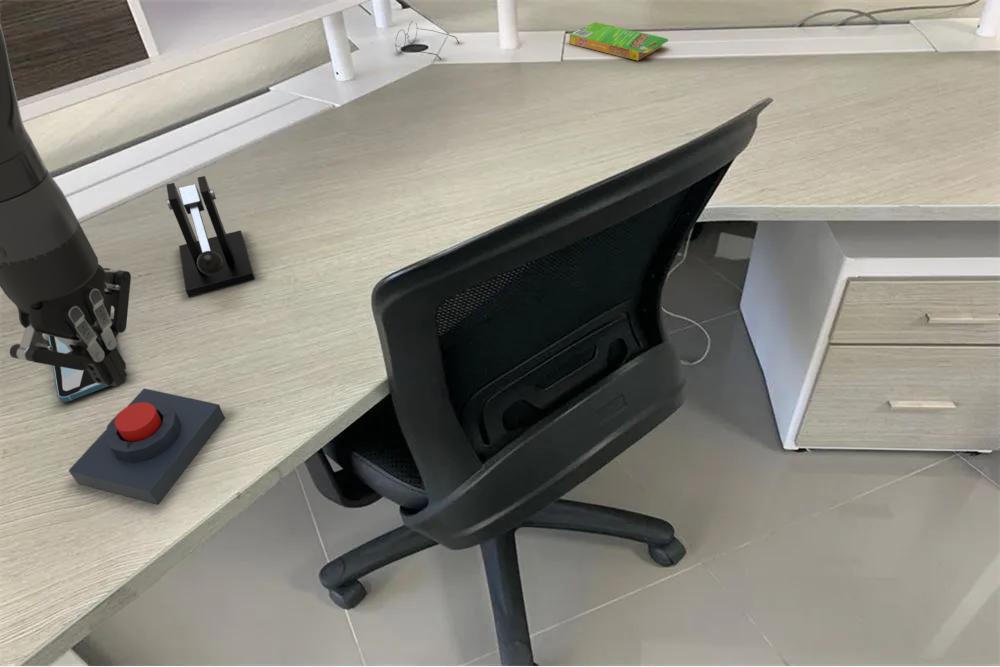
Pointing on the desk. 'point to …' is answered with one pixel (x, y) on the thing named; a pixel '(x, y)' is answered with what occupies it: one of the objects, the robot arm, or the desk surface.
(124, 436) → the button
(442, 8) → the desk surface
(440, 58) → the eyeglasses
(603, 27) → the game box
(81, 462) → the button block
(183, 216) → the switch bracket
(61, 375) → the smartphone
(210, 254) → the switch lever
